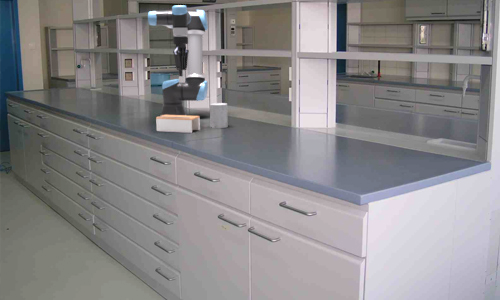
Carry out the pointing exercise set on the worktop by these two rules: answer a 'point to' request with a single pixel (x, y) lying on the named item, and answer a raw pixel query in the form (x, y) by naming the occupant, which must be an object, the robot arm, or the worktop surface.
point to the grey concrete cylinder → (218, 115)
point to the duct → (178, 125)
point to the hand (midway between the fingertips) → (182, 82)
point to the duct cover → (178, 117)
